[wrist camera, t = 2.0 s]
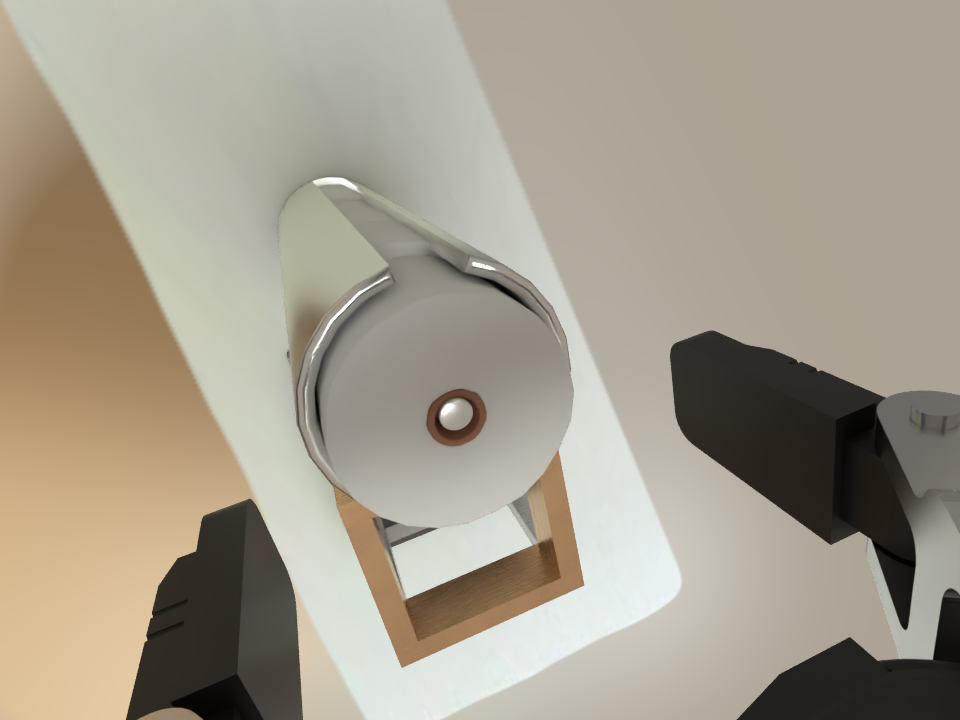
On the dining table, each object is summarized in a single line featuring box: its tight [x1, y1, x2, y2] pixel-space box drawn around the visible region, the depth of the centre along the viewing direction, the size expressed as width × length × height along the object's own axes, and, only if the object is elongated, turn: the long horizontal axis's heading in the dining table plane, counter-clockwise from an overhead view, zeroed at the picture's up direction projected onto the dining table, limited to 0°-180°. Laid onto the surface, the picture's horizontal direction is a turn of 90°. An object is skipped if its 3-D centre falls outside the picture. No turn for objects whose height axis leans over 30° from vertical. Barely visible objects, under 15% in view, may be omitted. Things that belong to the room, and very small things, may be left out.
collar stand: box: [287, 352, 584, 668], centre depth 35 cm, size 16×12×14 cm
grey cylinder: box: [278, 177, 574, 528], centre depth 24 cm, size 6×6×25 cm
